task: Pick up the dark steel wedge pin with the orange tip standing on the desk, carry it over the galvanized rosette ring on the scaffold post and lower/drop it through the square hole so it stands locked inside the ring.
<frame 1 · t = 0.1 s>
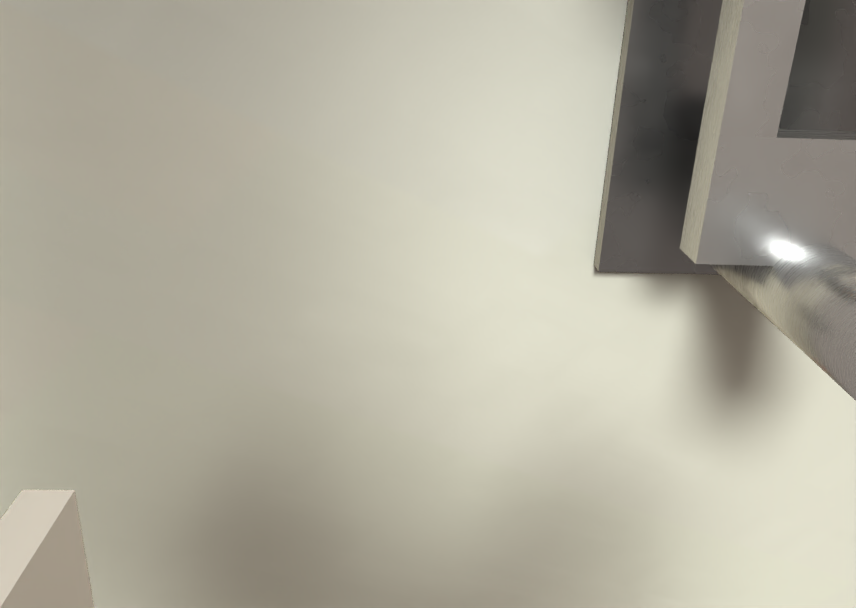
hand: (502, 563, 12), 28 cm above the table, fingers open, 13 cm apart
rosette post: (756, 112, 37), on the table
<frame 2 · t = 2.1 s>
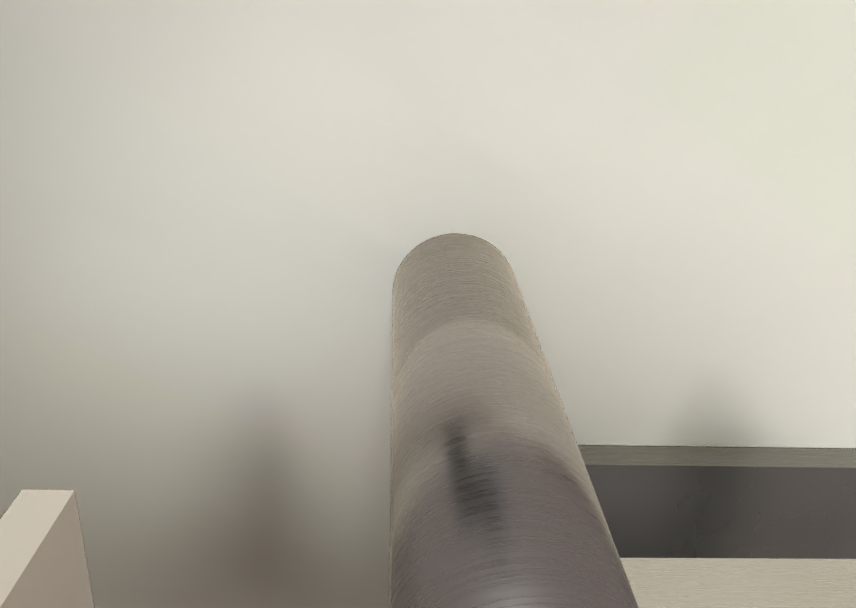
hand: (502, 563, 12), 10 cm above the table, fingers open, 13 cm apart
wedge pin: (454, 291, 21), on the table
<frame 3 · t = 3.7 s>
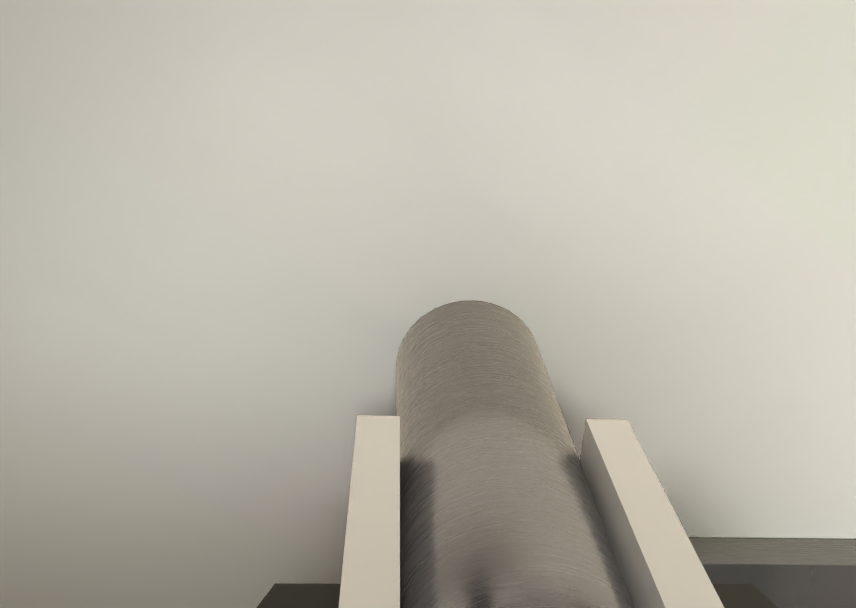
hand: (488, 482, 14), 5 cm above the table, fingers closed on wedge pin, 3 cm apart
wedge pin: (467, 366, 18), on the table, touching gripper
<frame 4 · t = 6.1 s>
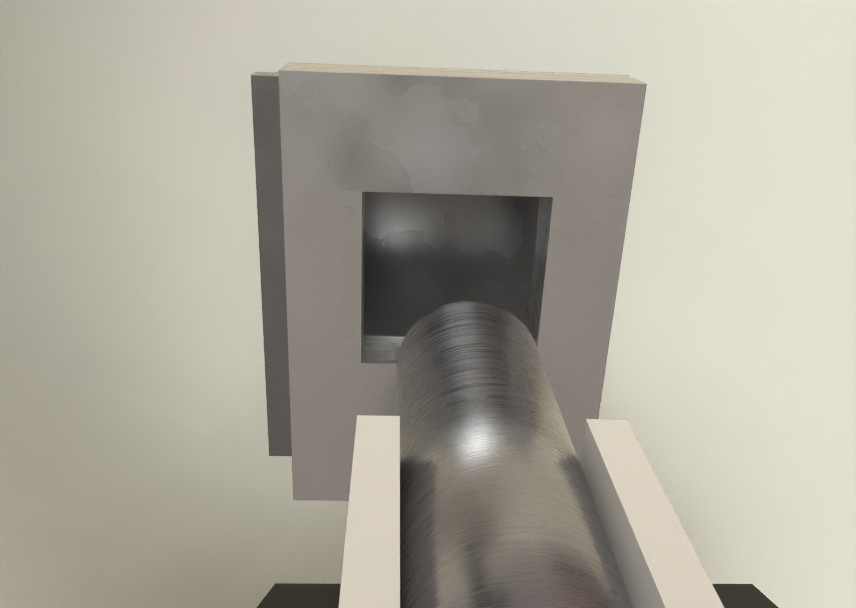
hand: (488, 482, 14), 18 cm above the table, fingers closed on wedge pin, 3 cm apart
wedge pin: (467, 366, 18), point 13 cm above the table, touching gripper
rosette post: (436, 280, 32), on the table
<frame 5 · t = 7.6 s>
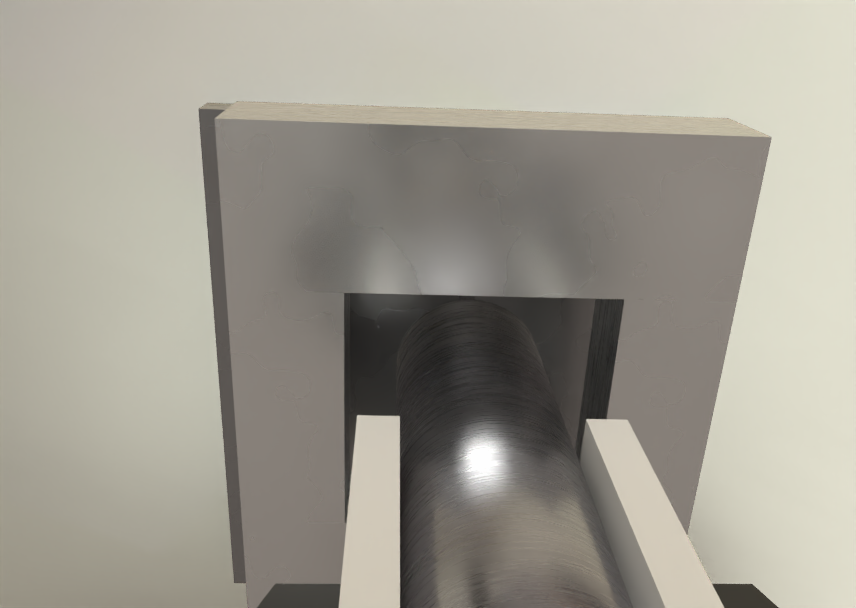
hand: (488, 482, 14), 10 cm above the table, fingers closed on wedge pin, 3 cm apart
wedge pin: (467, 365, 19), point 5 cm above the table, touching gripper
rosette post: (447, 366, 25), on the table
when the fingers open (9 cm above the table, at t = 8.6 s): wedge pin drops 3 cm, resting on rosette post.
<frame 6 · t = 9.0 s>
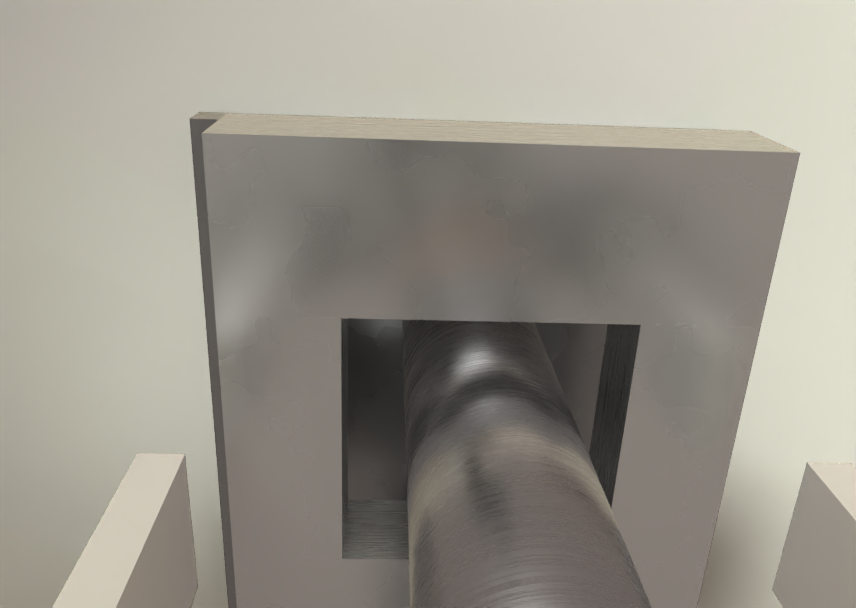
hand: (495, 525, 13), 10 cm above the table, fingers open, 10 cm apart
wedge pin: (462, 308, 22), point 1 cm above the table, touching rosette post
rosette post: (450, 385, 24), on the table
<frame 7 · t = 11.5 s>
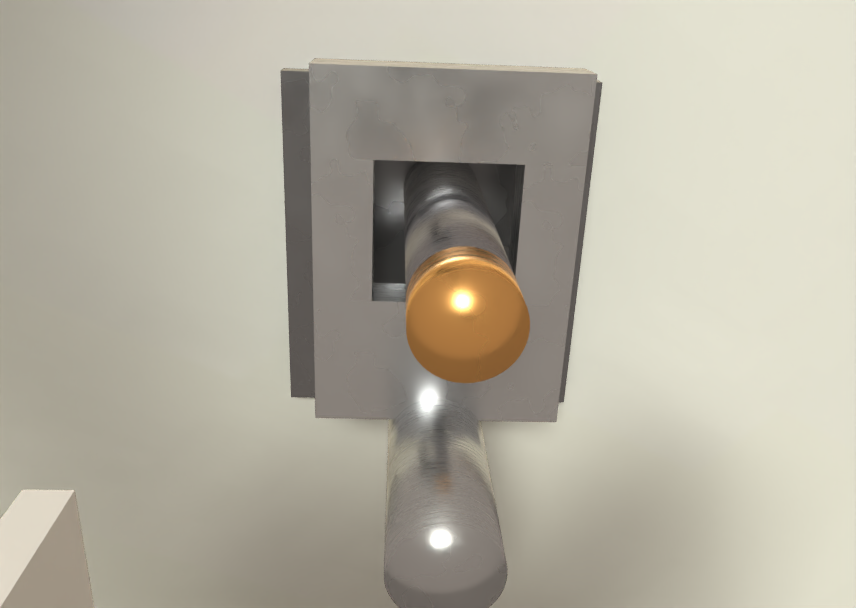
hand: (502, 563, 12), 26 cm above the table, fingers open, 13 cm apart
wedge pin: (440, 189, 35), point 1 cm above the table, touching rosette post
rosette post: (434, 244, 37), on the table
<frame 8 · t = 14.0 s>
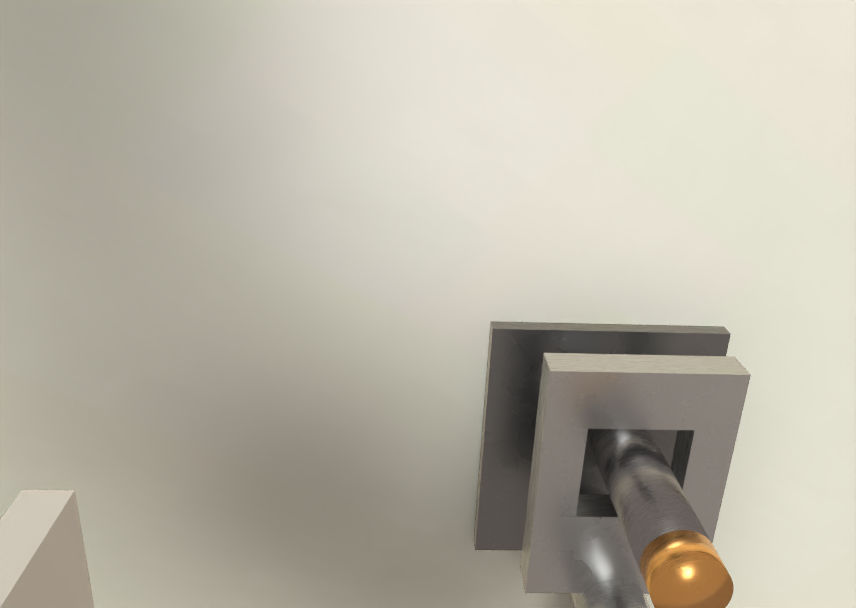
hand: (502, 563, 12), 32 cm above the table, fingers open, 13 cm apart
wedge pin: (603, 406, 47), point 1 cm above the table, touching rosette post
rosette post: (591, 439, 49), on the table
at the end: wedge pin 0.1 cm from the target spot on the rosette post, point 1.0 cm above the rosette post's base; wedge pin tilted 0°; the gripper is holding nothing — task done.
